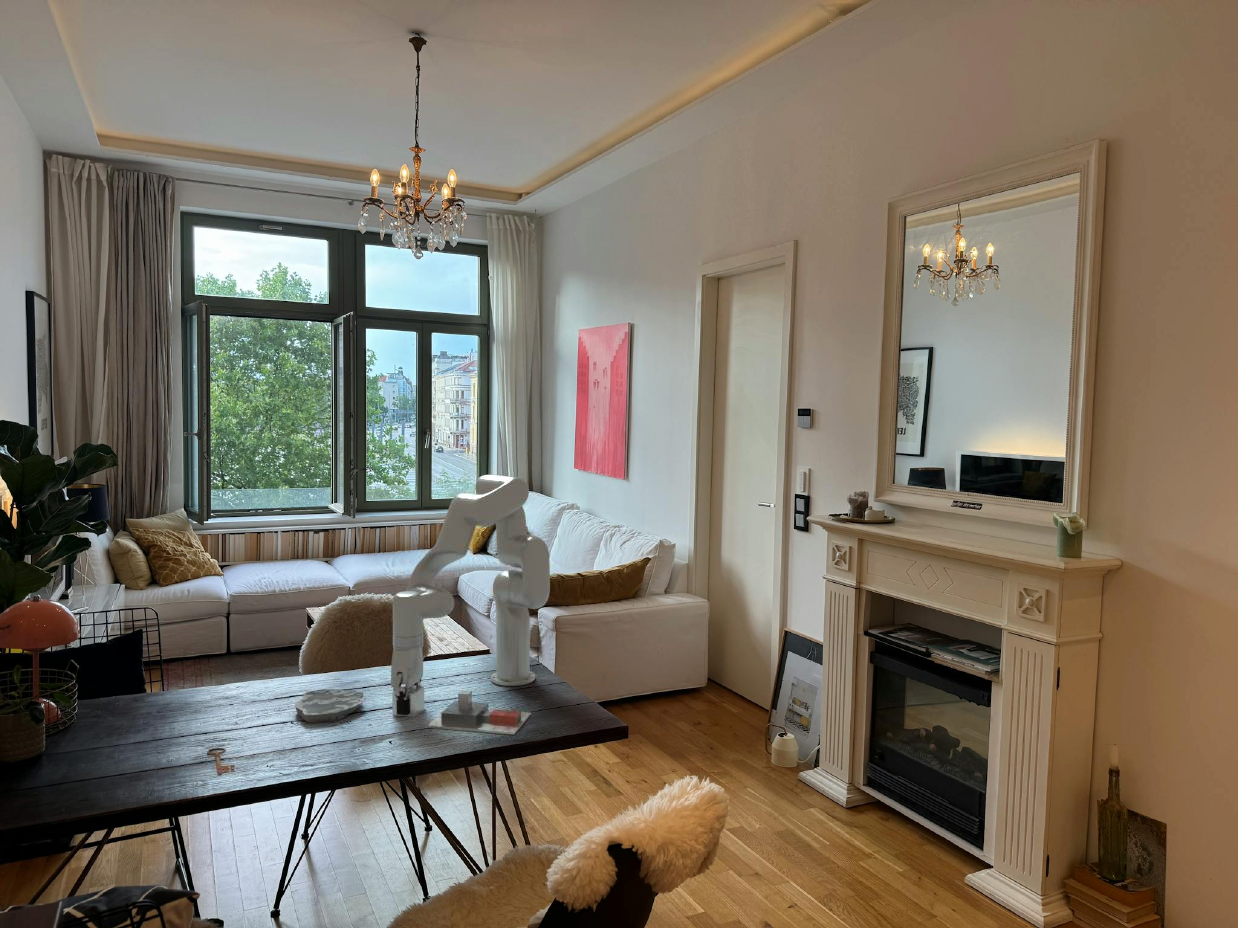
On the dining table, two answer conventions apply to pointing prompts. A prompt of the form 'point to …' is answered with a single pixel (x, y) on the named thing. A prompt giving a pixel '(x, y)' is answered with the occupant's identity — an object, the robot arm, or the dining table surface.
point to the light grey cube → (411, 701)
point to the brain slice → (328, 704)
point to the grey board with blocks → (478, 717)
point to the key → (217, 757)
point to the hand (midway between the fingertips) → (408, 708)
